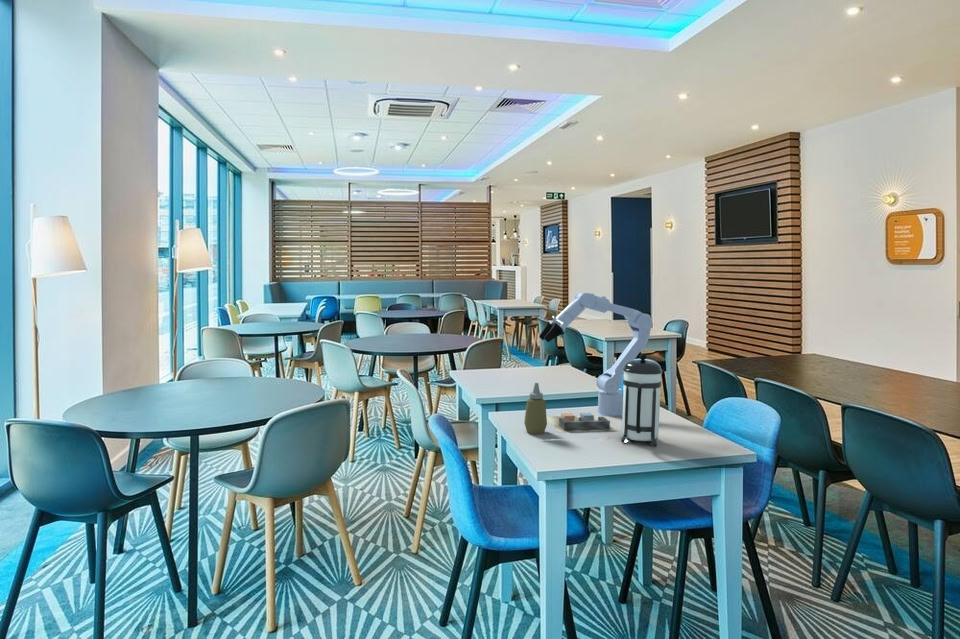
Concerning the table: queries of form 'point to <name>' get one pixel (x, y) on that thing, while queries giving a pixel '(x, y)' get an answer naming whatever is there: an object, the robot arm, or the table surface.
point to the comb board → (580, 424)
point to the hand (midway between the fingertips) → (543, 339)
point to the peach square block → (568, 416)
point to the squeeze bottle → (535, 412)
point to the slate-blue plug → (587, 416)
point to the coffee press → (641, 400)
